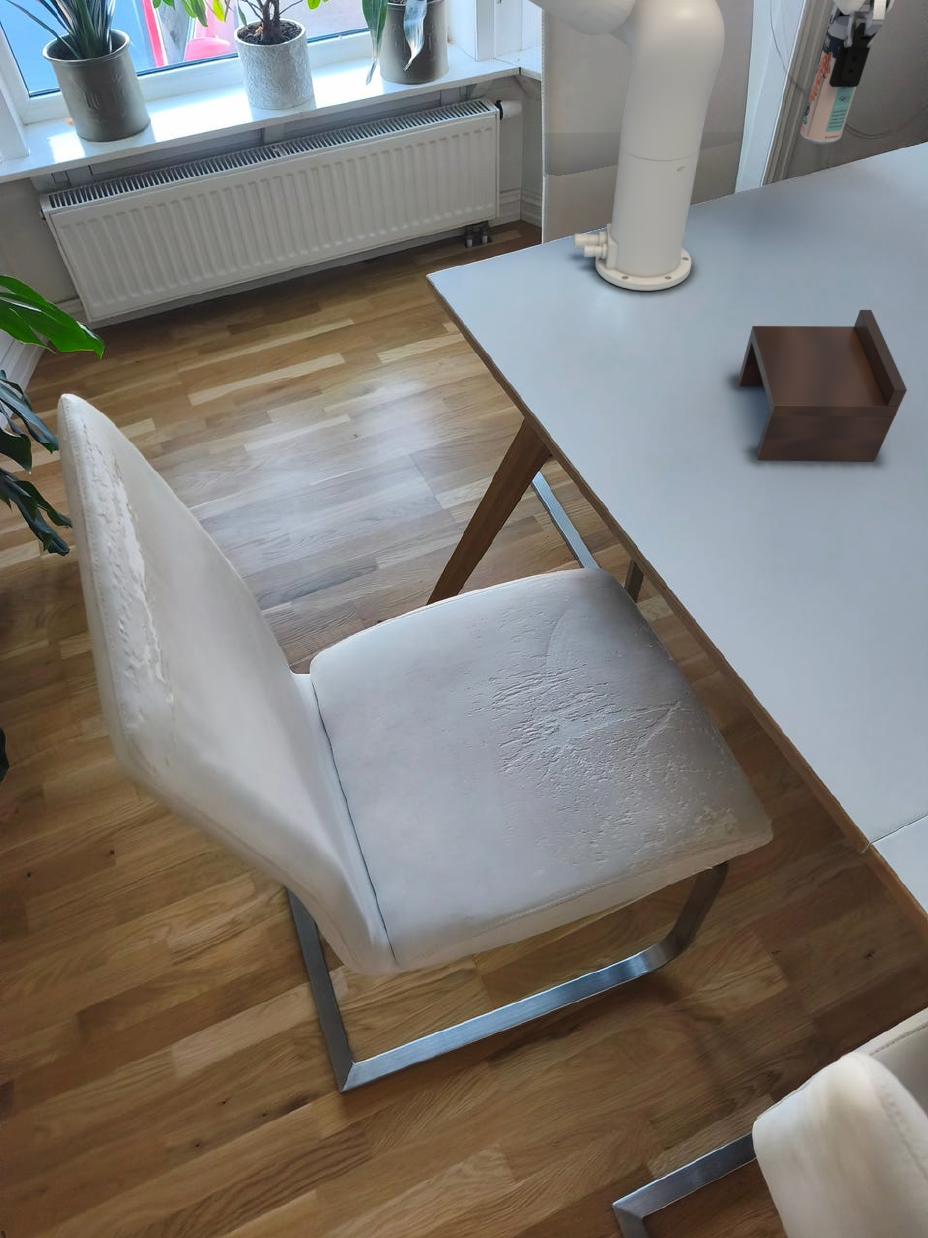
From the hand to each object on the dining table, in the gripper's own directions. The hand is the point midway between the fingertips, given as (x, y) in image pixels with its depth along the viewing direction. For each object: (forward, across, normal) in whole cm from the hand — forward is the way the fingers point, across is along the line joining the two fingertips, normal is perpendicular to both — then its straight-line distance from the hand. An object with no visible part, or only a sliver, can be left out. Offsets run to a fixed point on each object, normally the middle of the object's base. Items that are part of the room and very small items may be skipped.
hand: (837, 74), depth 97 cm
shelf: (+22, +34, -5) cm, 41 cm away
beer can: (+7, 0, 0) cm, 7 cm away
